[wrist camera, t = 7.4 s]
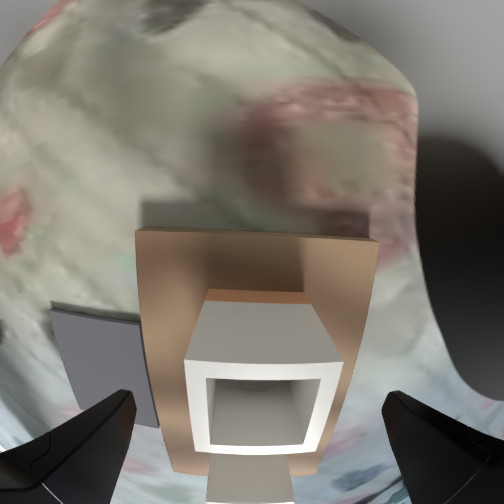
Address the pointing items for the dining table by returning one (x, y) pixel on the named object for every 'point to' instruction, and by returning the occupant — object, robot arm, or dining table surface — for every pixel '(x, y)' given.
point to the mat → (105, 360)
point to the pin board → (252, 279)
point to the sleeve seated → (249, 479)
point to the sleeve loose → (259, 373)
